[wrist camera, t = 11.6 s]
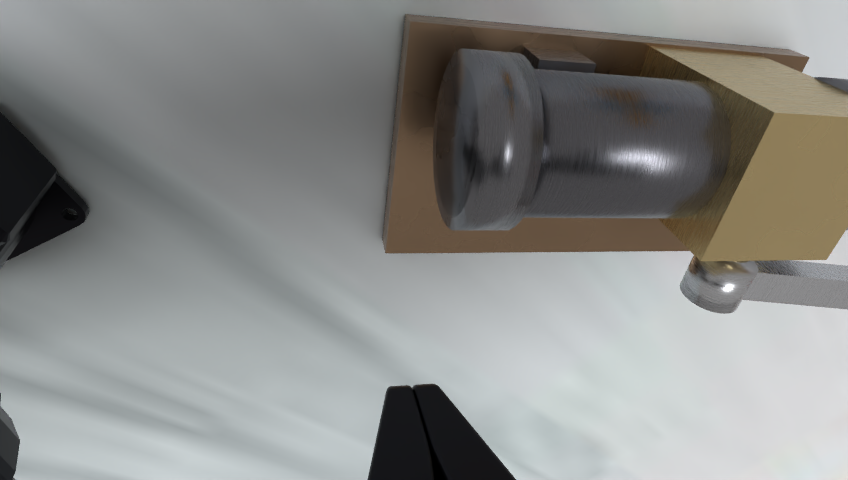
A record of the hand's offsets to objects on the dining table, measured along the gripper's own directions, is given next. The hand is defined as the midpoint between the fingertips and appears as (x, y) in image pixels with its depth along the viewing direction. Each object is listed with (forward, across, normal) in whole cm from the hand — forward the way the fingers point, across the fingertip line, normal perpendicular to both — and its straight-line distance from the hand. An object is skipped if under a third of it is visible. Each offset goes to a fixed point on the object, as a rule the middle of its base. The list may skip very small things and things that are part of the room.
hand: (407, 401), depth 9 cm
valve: (+13, -9, +1) cm, 16 cm away
